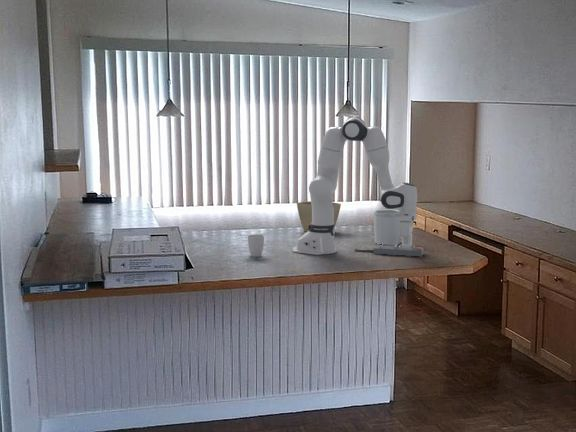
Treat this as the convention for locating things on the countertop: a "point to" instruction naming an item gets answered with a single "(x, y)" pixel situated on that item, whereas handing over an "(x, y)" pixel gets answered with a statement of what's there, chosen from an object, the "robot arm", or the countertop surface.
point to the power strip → (395, 250)
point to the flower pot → (306, 213)
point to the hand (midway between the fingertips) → (406, 242)
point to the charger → (408, 241)
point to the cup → (256, 245)
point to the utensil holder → (386, 226)
